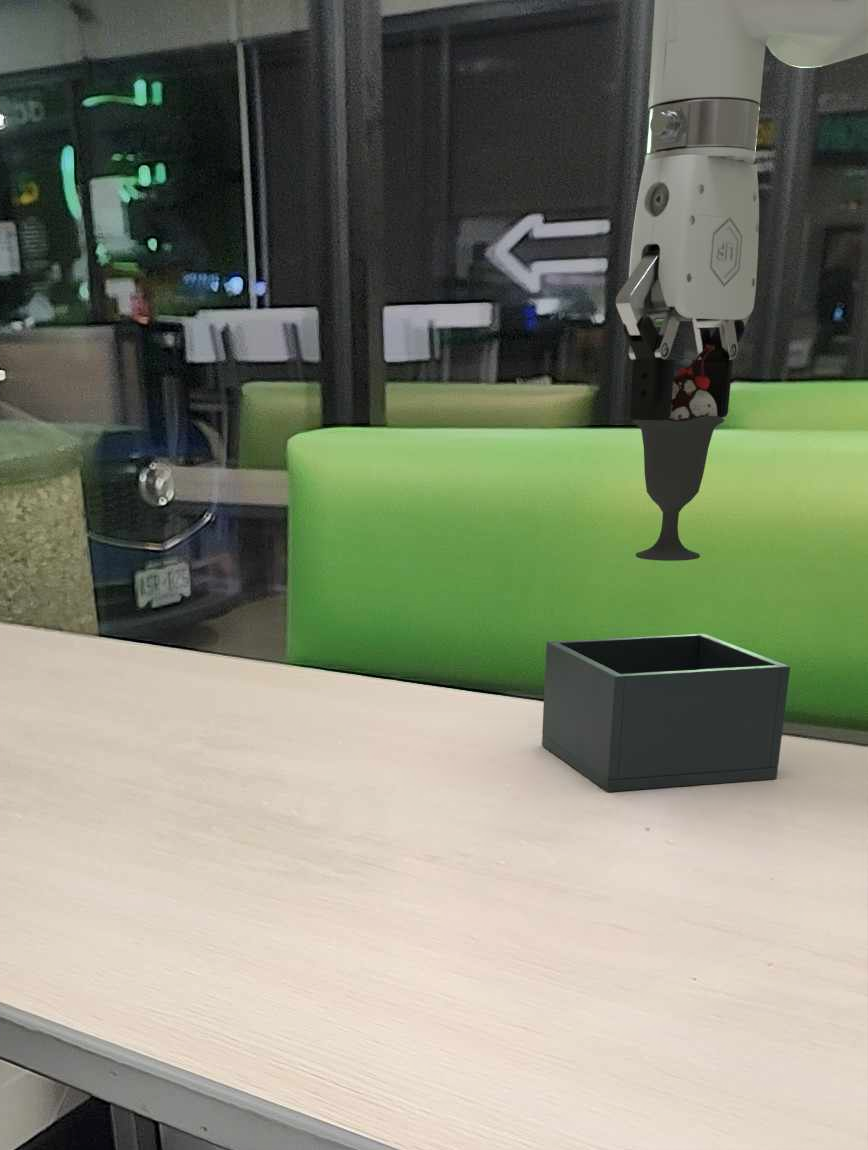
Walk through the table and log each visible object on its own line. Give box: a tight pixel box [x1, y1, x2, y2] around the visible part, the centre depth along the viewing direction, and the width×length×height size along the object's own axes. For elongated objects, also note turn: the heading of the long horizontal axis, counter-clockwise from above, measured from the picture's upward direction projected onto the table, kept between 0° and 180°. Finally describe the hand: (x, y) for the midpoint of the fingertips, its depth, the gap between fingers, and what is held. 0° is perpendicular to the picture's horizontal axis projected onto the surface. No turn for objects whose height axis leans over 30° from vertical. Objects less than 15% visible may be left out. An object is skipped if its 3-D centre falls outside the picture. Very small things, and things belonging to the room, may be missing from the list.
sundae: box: [629, 344, 725, 562], centre depth 100 cm, size 7×7×15 cm
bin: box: [541, 633, 791, 793], centre depth 109 cm, size 15×15×9 cm
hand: (679, 416), depth 99 cm, fingers closed on sundae, 6 cm apart
